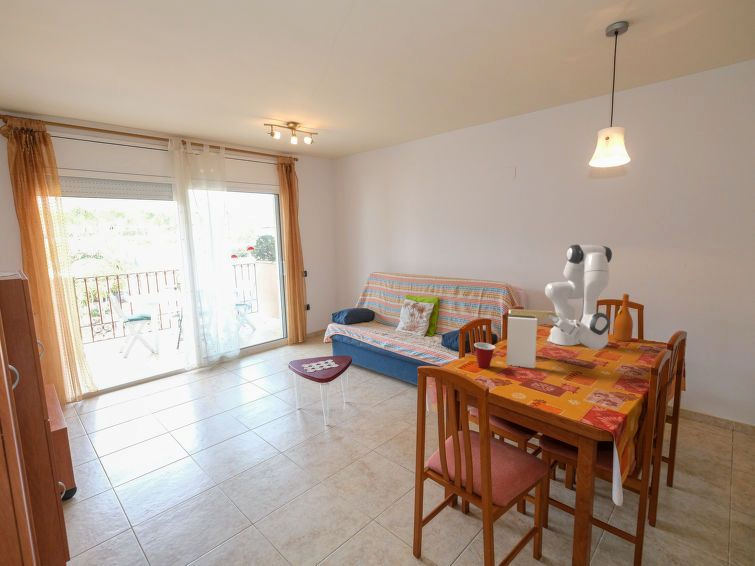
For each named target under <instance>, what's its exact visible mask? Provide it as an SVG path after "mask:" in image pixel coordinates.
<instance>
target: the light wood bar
mask: <svg viewBox="0 0 755 566" xmlns="http://www.w3.org/2000/svg"><path fill="white" fill-rule="evenodd" d="M510 310H511V312H510V316H525V317H537V318H542V319H543V318H544V319H550V318H549V317H548V316H549V315H550V314H551V315H553V316H554V317H556V311H555V310H554V311H551V310H549V311H548V310H537V309H517V308H511V309H510Z"/></svg>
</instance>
